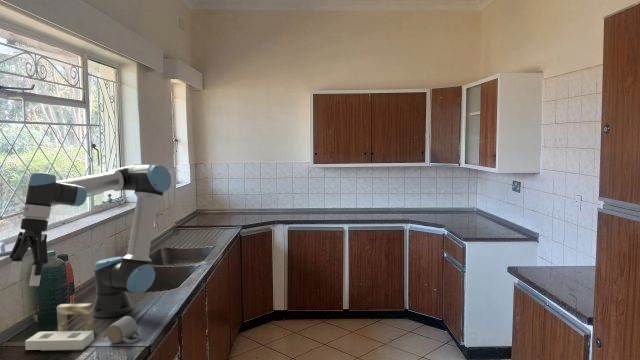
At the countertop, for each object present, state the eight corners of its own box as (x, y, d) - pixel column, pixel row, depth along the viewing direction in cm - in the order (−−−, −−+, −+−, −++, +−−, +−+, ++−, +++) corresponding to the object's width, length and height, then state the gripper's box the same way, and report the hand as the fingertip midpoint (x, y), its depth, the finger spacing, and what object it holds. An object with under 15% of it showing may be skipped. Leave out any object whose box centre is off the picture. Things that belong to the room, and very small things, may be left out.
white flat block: (94, 339, 167) (93, 330, 166) (82, 349, 159) (81, 340, 158) (39, 340, 167) (39, 331, 166) (25, 350, 159) (25, 341, 158)
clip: (94, 331, 175) (92, 303, 174) (90, 334, 172) (88, 306, 171) (63, 331, 175) (61, 304, 174) (58, 335, 172) (56, 306, 171)
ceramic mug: (105, 343, 163) (104, 322, 163) (121, 334, 171) (120, 314, 171) (129, 347, 160) (128, 326, 160) (145, 337, 168) (144, 317, 167)
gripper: (5, 216, 155) (-7, 279, 152) (43, 218, 141) (30, 288, 138) (29, 218, 161) (17, 279, 158) (66, 221, 148) (55, 287, 144)
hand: (23, 283), depth 148 cm, fingers open, 13 cm apart
